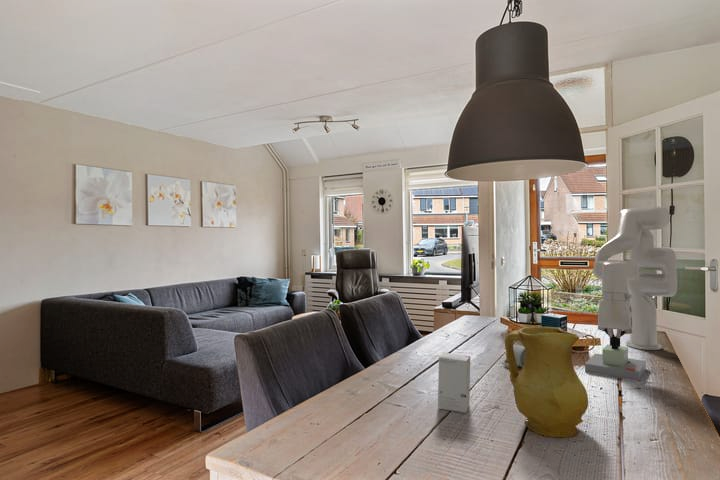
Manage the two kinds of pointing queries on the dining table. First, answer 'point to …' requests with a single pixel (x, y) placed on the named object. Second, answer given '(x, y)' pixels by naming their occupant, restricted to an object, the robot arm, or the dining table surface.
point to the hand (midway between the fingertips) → (615, 348)
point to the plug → (615, 355)
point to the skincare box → (454, 382)
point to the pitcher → (547, 381)
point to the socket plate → (616, 368)
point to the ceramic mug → (518, 355)
